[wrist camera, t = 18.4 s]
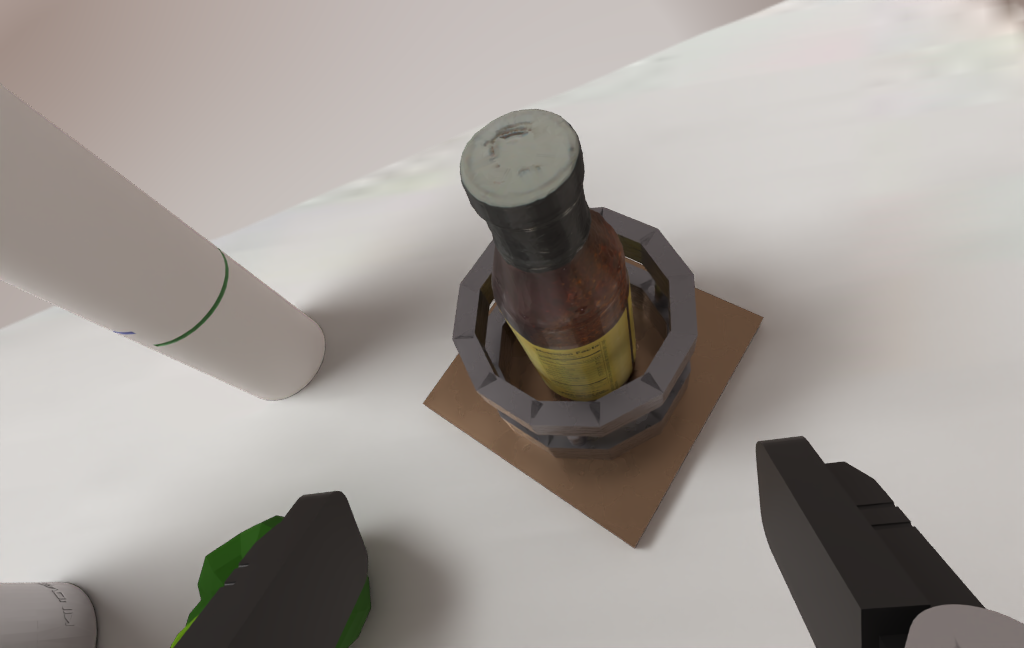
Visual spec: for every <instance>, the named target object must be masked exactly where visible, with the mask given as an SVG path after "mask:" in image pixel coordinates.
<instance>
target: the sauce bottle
mask: <svg viewBox="0 0 1024 648" xmlns="http://www.w3.org/2000/svg"><path fill="white" fill-rule="evenodd" d="M584 172H585V171H584V162H583V152H582V149H581V145H580V141H579V138H578V135H577V134H576V132H575V130H574V129H573V128H572V126H571V125H570V124H569V123H568V122H567V121H565V120H564V119H563V118H562V117H561V116H559V115H557V114H554V113H552V112H548V111H544V110H539V109H528V110H520V111H513V112H510V113H508V114H506V115H503V116H501V117H499V118H497V119H495V120H493V121H492V122H490V123H489V124H488V125H486V126H485V127H484V128H482V129H481V130H480V131H478V132H477V133H475V135H474V136H473V137H472V139H471V140H470V141H469V142H468V143H467V145H466V147H465V149H464V151H463V153H462V157H461V161H460V175H461V182H462V185H463V187H464V189H465V191H466V194H467V196H468V198H469V201H470V203H471V205H472V207H473V208H474V209H475V211H476V212H477V214H478V215H479V216H480V217H481V218H482V219H484V220H486V222H487V224H488V227H489V229H490V231H491V232H492V235H493V240H494V243H495V250H494V258H493V266H492V277H491V281H492V290H493V295H494V298H495V301H496V304H497V306H498V308H499V310H500V312H501V313H502V315H503V316H504V318H505V320H506V322H507V323H508V325H509V326H510V328H511V329H512V331H513V333H514V334H515V336H516V337H517V339H518V340H519V342H520V344H521V345H522V347H523V349H524V350H525V352H526V354H527V355H528V357H529V359H530V360H531V362H532V364H533V365H534V367H535V368H536V370H537V372H538V373H539V375H540V376H541V378H542V380H543V381H544V382H545V384H546V385H547V386H548V387H549V388H550V389H551V390H553V391H554V392H556V393H557V394H559V395H560V396H562V397H563V398H565V399H566V400H568V401H584V402H594V401H596V400H598V399H600V398H601V397H603V396H605V395H607V394H609V393H611V392H613V391H614V390H616V389H618V388H620V387H622V386H624V385H625V384H626V383H627V381H628V380H629V377H630V376H631V375H632V373H633V371H634V367H635V358H636V340H635V329H634V320H633V310H632V300H631V290H630V280H629V275H628V271H627V268H626V265H625V254H624V251H623V246H622V244H621V242H620V240H619V237H618V235H617V233H616V232H615V230H614V229H613V227H612V226H611V225H610V224H608V223H607V222H606V221H605V219H604V218H603V217H602V216H601V215H600V213H599V212H596V211H594V210H592V209H589V207H588V205H587V202H586V200H585V195H584V189H583V180H584Z"/></svg>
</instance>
